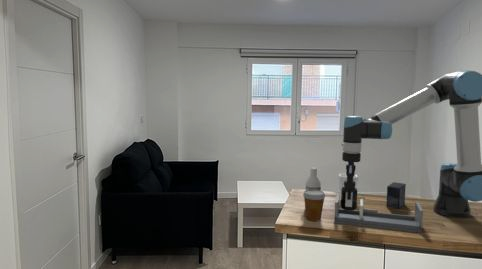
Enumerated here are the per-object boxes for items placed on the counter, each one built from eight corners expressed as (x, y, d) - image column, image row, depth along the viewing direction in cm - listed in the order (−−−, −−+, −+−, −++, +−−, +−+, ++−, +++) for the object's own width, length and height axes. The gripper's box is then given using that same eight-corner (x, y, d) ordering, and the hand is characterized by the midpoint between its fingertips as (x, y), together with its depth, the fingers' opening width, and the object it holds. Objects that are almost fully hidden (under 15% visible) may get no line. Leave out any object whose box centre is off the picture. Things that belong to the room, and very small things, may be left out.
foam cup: (344, 196, 198) (345, 172, 197) (360, 200, 191) (361, 175, 190) (333, 199, 192) (334, 175, 191) (349, 204, 185) (350, 178, 184)
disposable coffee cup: (328, 219, 163) (329, 192, 162) (315, 224, 157) (316, 196, 156) (311, 213, 170) (311, 188, 169) (297, 218, 164) (298, 192, 162)
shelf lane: (416, 221, 162) (418, 201, 161) (421, 232, 149) (423, 211, 148) (336, 212, 172) (337, 194, 171) (334, 222, 159) (335, 202, 158)
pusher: (376, 215, 165) (377, 200, 164) (377, 223, 156) (378, 207, 155) (359, 213, 167) (360, 199, 166) (359, 221, 158) (360, 205, 157)
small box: (391, 201, 190) (392, 181, 189) (405, 204, 186) (406, 183, 185) (385, 206, 182) (386, 185, 180) (399, 209, 178) (400, 188, 177)
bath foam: (318, 212, 172) (319, 170, 170) (303, 210, 175) (304, 168, 172) (321, 208, 178) (322, 167, 176) (306, 206, 181) (308, 165, 179)
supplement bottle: (355, 206, 166) (357, 180, 165) (357, 211, 159) (359, 183, 158) (339, 205, 167) (341, 179, 166) (340, 210, 161) (342, 182, 159)
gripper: (343, 148, 171) (341, 197, 174) (341, 155, 152) (338, 209, 155) (360, 149, 169) (358, 198, 171) (360, 156, 150) (357, 211, 153)
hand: (348, 203), depth 163 cm, fingers closed on supplement bottle, 7 cm apart
